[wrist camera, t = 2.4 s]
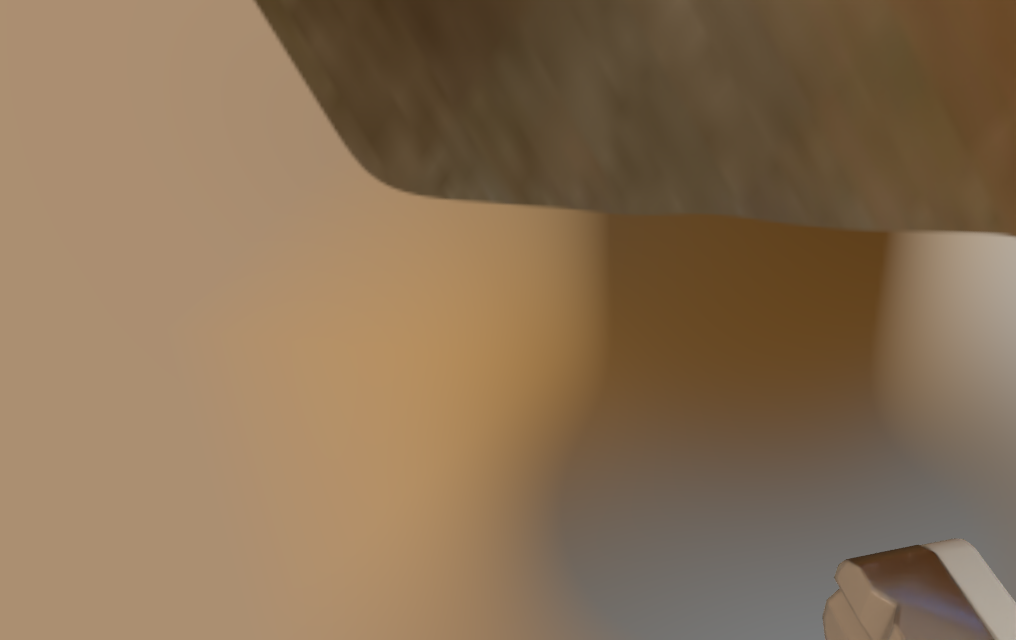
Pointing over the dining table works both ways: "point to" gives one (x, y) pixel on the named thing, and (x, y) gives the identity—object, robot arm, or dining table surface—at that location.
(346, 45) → the dining table surface
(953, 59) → the dining table surface
